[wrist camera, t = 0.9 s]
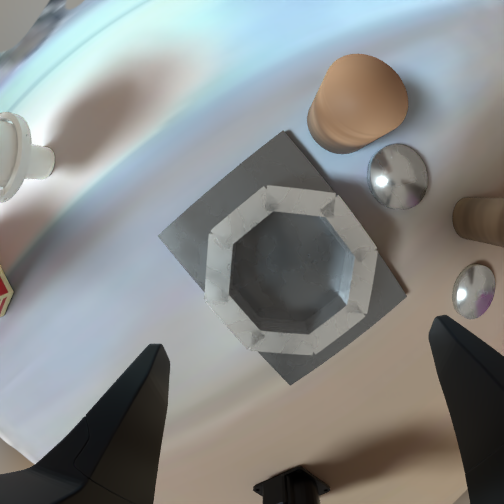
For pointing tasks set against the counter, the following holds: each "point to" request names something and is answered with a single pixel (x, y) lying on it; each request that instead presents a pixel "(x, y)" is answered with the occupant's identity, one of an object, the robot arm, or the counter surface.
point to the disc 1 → (397, 177)
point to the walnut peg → (480, 220)
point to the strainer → (20, 156)
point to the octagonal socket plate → (283, 260)
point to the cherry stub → (356, 104)
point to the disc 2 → (473, 291)
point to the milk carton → (4, 292)
